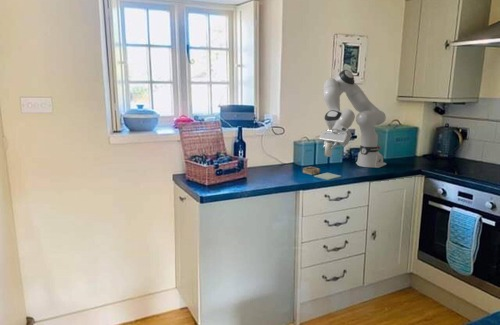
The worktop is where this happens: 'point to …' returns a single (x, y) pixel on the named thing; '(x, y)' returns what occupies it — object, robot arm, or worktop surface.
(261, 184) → the worktop surface
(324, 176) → the tile pad
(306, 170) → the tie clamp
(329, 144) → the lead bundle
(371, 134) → the robot arm
